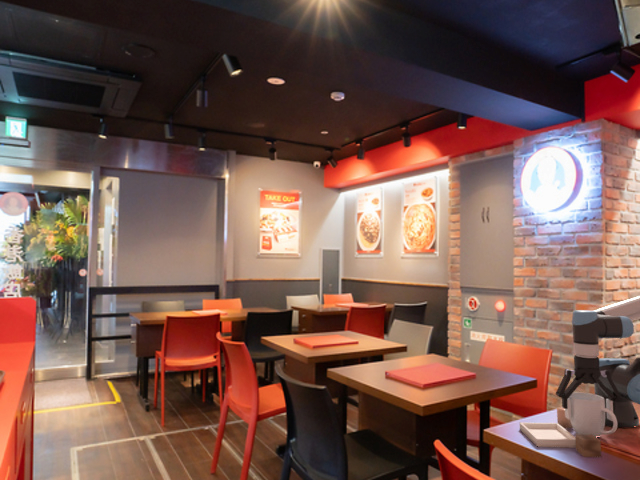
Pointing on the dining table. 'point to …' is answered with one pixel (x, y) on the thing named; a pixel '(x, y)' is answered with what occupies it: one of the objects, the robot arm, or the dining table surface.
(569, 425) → the brown short cylinder
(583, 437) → the walnut block
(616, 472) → the dining table surface
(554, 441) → the tray
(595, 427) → the mug
